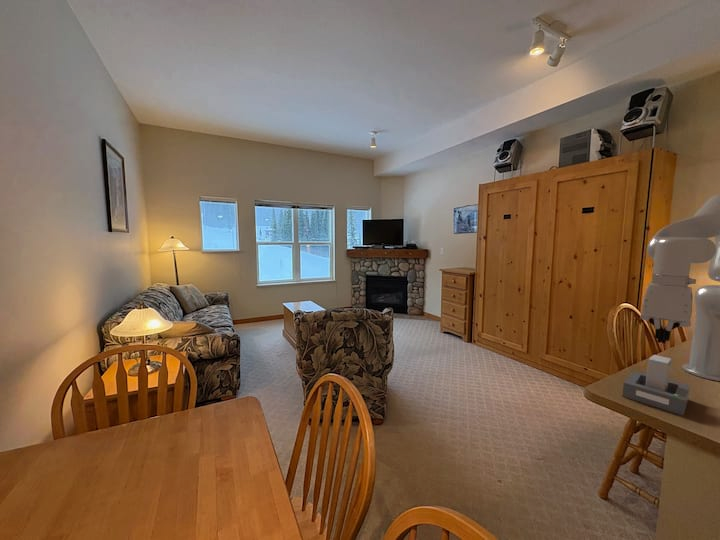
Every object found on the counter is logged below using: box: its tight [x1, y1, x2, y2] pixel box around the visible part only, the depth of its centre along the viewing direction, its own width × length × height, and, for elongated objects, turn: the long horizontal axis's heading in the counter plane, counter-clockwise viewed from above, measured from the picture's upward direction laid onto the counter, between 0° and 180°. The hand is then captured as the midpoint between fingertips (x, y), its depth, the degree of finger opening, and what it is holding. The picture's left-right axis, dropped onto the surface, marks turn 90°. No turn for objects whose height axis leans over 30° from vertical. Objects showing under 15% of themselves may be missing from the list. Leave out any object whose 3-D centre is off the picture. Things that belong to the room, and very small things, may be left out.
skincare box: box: [645, 354, 673, 392], centre depth 93 cm, size 6×4×12 cm
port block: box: [621, 370, 691, 416], centre depth 93 cm, size 13×13×5 cm
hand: (661, 341), depth 91 cm, fingers closed
